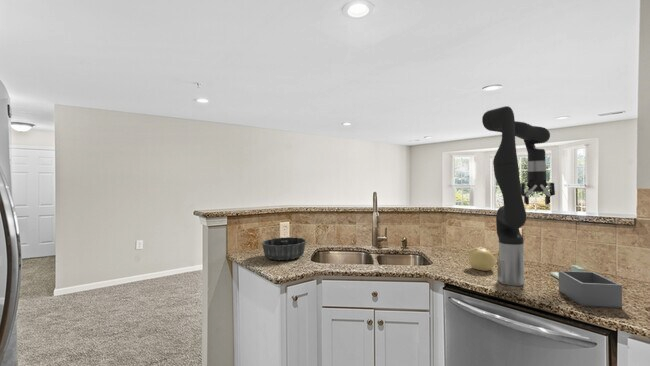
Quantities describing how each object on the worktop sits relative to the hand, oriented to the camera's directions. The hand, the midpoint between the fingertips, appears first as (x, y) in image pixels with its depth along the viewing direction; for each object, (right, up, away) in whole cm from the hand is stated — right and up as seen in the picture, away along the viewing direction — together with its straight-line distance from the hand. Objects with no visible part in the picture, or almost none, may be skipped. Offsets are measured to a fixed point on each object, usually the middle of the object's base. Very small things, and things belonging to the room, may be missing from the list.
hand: (537, 204), depth 154 cm
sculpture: (-24, -33, +6) cm, 41 cm away
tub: (-5, -33, -35) cm, 48 cm away
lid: (+7, -33, -15) cm, 37 cm away
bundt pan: (-126, -35, +38) cm, 136 cm away
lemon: (-6, -32, +18) cm, 37 cm away
